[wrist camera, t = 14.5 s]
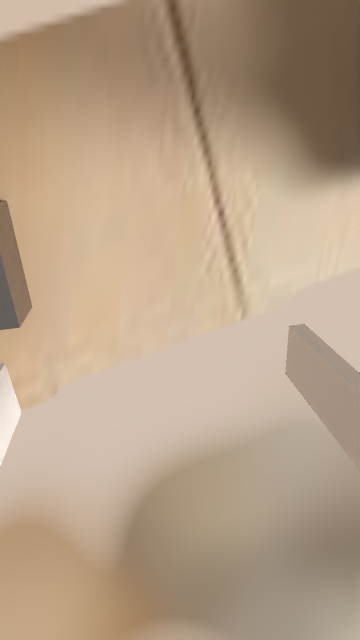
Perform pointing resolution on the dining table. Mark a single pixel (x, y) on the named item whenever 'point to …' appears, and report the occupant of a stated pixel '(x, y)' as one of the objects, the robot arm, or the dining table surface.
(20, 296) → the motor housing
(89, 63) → the dining table surface
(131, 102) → the dining table surface
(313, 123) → the dining table surface
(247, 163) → the dining table surface
